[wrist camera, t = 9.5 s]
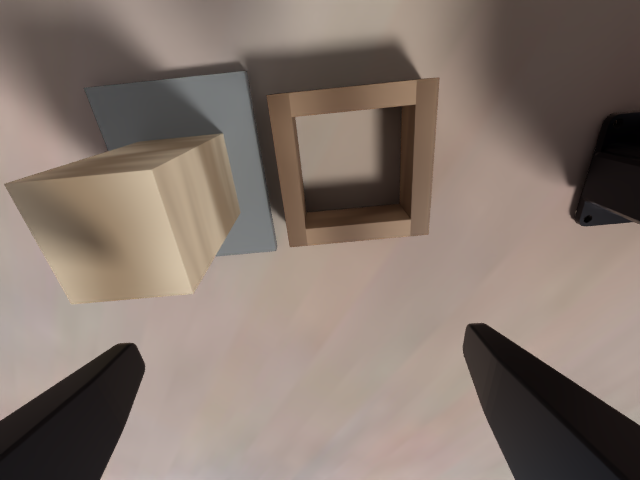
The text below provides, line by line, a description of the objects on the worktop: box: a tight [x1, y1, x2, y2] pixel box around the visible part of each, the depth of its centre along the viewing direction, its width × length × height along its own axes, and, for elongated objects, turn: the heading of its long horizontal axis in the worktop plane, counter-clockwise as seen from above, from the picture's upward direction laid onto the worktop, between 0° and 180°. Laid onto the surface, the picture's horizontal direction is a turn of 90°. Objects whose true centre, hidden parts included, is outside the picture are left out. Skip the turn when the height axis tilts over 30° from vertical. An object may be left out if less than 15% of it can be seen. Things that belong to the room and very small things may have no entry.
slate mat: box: [84, 71, 277, 256], centre depth 18 cm, size 8×10×1 cm
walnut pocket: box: [266, 78, 439, 247], centre depth 17 cm, size 8×8×2 cm
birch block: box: [4, 133, 241, 304], centre depth 14 cm, size 4×4×8 cm
